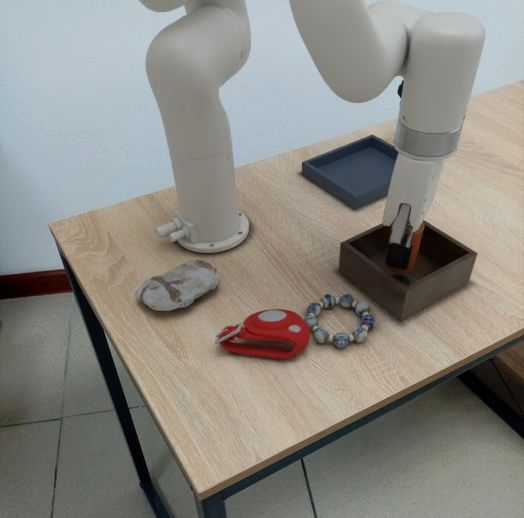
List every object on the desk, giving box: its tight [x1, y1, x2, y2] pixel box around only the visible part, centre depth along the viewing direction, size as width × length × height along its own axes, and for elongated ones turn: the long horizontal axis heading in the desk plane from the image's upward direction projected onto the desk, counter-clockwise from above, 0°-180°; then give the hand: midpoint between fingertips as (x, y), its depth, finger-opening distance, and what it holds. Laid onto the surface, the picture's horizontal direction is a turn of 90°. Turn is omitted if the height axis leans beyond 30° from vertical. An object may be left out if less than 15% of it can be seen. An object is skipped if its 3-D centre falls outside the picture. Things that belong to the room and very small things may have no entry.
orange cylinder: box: [385, 219, 424, 274], centre depth 76 cm, size 4×4×7 cm
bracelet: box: [303, 293, 376, 349], centre depth 73 cm, size 10×10×2 cm
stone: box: [135, 258, 220, 312], centre depth 79 cm, size 12×9×3 cm
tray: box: [301, 133, 399, 211], centre depth 99 cm, size 18×16×2 cm
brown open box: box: [338, 219, 478, 322], centre depth 78 cm, size 14×14×6 cm
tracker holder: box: [214, 308, 311, 360], centre depth 71 cm, size 12×4×10 cm
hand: (401, 254), depth 77 cm, fingers closed on orange cylinder, 4 cm apart
